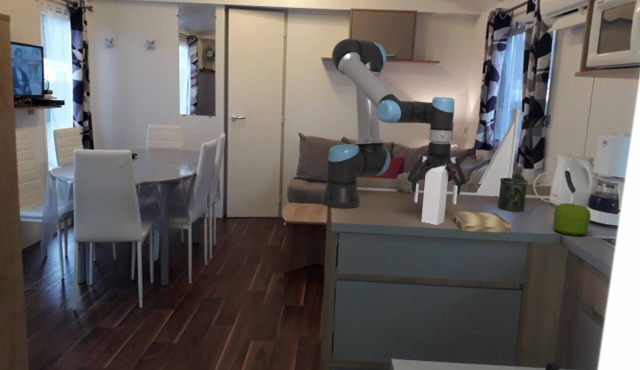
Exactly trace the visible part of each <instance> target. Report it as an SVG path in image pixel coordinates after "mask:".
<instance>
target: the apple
mask: <svg viewBox="0 0 640 370" xmlns="http://www.w3.org/2000/svg"><path fill="white" fill-rule="evenodd" d="M553 215H554V216H553V228H554V229H555V230H556V231H557V232H559V233H560V232H561V233H560V234H563V233H564V234H563V235H568V234H569V236H570V235H571V236H580V235H583V234H586V233H588V228H589V225H590V221H591V212H590V210H589V209H588V208H587V207H586V206H584V205H579V204H574V202H572V203H560V204H559V205H557V206H556V207H555V210H554V214H553Z"/></svg>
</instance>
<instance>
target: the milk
mask: <svg viewBox="0 0 640 370" xmlns="http://www.w3.org/2000/svg"><path fill="white" fill-rule="evenodd" d="M445 167H446V166H444V165H443V166H440V167H437V168H431V169H430V170H429V171H428V172H427V173H426V174H425V175H424V177H425V178H424V179H425V180H424V189H423V190H424V191H423V200H422V210H421V211H422V212H421V223H424V222H425V223H424V224H428V223H430V225H433V224H434V225H435V226H438V225H441V224H443V223H444V222H445V215H446V205H447V204H446V203H447V193H448V181H449V173H448V171H447V170H446V168H445Z"/></svg>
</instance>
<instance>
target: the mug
mask: <svg viewBox="0 0 640 370" xmlns="http://www.w3.org/2000/svg"><path fill="white" fill-rule="evenodd" d="M500 181H501V185H500V193H499V197H498V205H497V207H498V208H499V209H500V210H503V211H508V212H522V211H524V209H525V203H526V195H527V185H528V183H529V181H527V180H525V179H522V178H521V179H520V178H514V177H512V178H501V179H500Z"/></svg>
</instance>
